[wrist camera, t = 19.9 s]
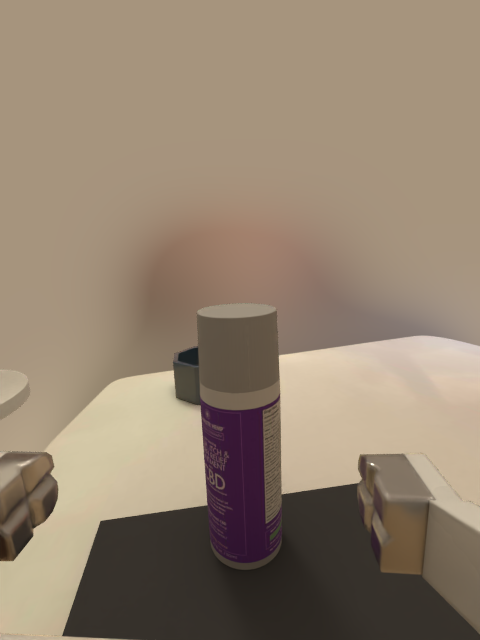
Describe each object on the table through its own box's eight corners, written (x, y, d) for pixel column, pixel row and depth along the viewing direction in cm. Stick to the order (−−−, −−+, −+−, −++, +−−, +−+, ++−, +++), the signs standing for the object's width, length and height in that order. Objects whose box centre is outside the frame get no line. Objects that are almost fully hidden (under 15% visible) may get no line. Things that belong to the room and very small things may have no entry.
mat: (-27, 914, 9) (-29, 905, 9) (101, 525, 23) (100, 520, 23) (604, 731, 12) (606, 723, 12) (388, 482, 26) (389, 478, 26)
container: (196, 554, 20) (177, 315, 17) (229, 501, 24) (218, 302, 21) (268, 583, 18) (261, 320, 15) (290, 520, 22) (289, 304, 19)
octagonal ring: (175, 407, 41) (171, 368, 39) (177, 379, 49) (175, 347, 48) (248, 399, 42) (246, 362, 41) (237, 373, 51) (236, 343, 50)
